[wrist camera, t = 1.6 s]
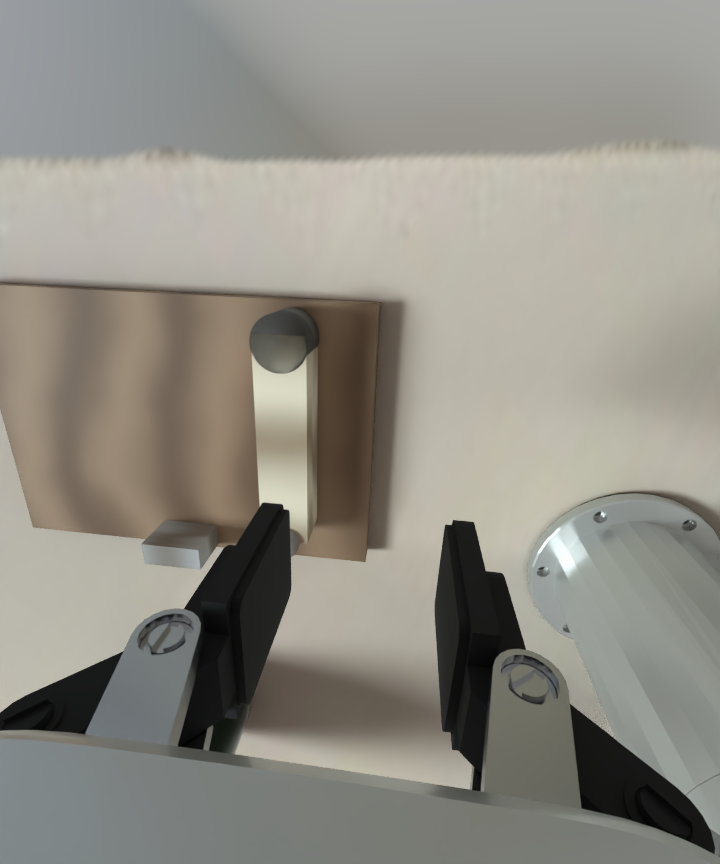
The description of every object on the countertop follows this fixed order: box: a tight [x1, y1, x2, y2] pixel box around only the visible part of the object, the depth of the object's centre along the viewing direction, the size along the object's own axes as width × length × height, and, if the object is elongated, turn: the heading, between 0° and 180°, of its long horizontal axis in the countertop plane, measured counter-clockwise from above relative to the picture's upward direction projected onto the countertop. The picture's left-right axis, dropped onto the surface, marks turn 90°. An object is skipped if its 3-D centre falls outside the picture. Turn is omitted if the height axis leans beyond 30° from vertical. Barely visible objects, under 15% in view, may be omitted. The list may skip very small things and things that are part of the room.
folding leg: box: [249, 308, 319, 556], centre depth 26 cm, size 15×3×3 cm, turn 178°
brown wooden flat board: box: [0, 283, 381, 570], centre depth 29 cm, size 26×18×4 cm
